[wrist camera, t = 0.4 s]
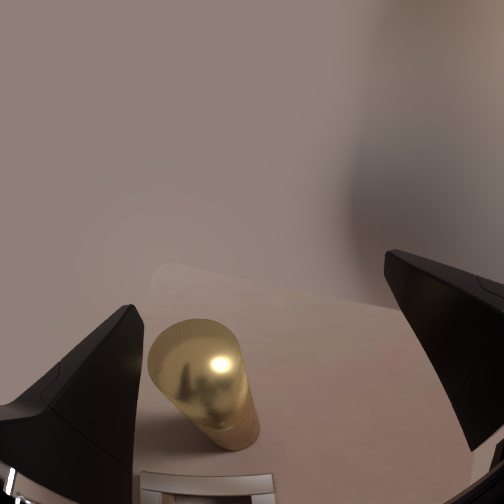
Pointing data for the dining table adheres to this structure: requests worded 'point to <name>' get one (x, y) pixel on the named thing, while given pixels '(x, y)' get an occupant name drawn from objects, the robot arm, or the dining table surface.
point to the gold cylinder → (206, 380)
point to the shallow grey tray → (205, 487)
